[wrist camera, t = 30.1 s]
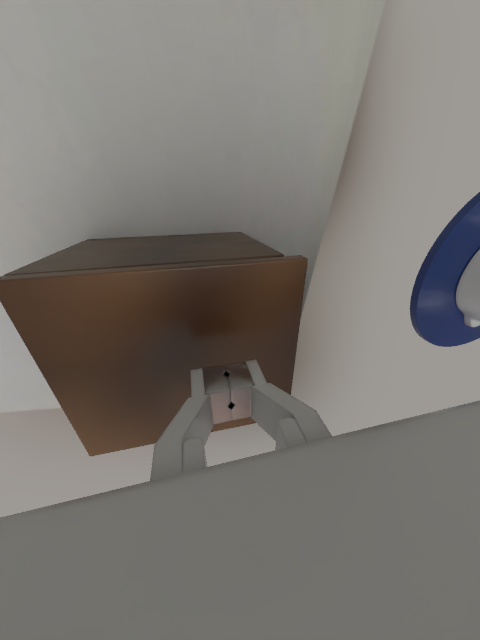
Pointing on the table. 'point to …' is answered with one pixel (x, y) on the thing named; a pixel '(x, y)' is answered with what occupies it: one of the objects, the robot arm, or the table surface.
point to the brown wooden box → (150, 252)
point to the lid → (153, 337)
